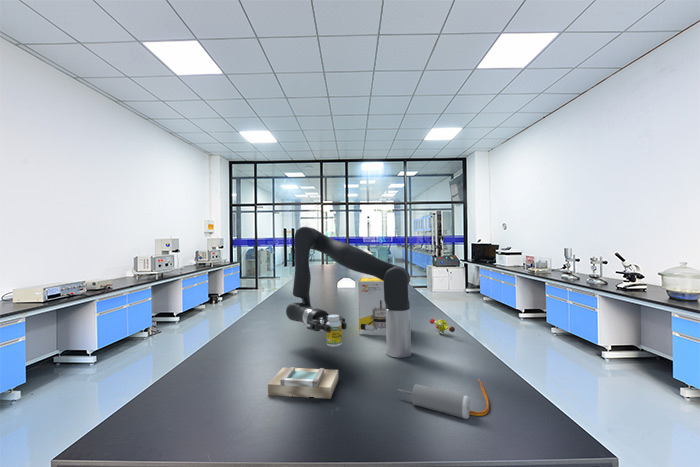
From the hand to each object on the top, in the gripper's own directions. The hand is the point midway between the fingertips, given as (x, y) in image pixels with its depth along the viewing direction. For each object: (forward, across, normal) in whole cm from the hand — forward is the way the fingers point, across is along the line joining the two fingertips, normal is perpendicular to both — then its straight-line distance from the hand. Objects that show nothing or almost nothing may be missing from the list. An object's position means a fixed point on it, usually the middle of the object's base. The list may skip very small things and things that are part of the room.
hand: (337, 327), depth 102 cm
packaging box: (-33, +40, +15) cm, 54 cm away
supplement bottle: (-3, 0, +6) cm, 7 cm away
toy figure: (-10, +61, +15) cm, 64 cm away
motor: (+30, +18, +15) cm, 38 cm away
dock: (+4, -14, +14) cm, 20 cm away
